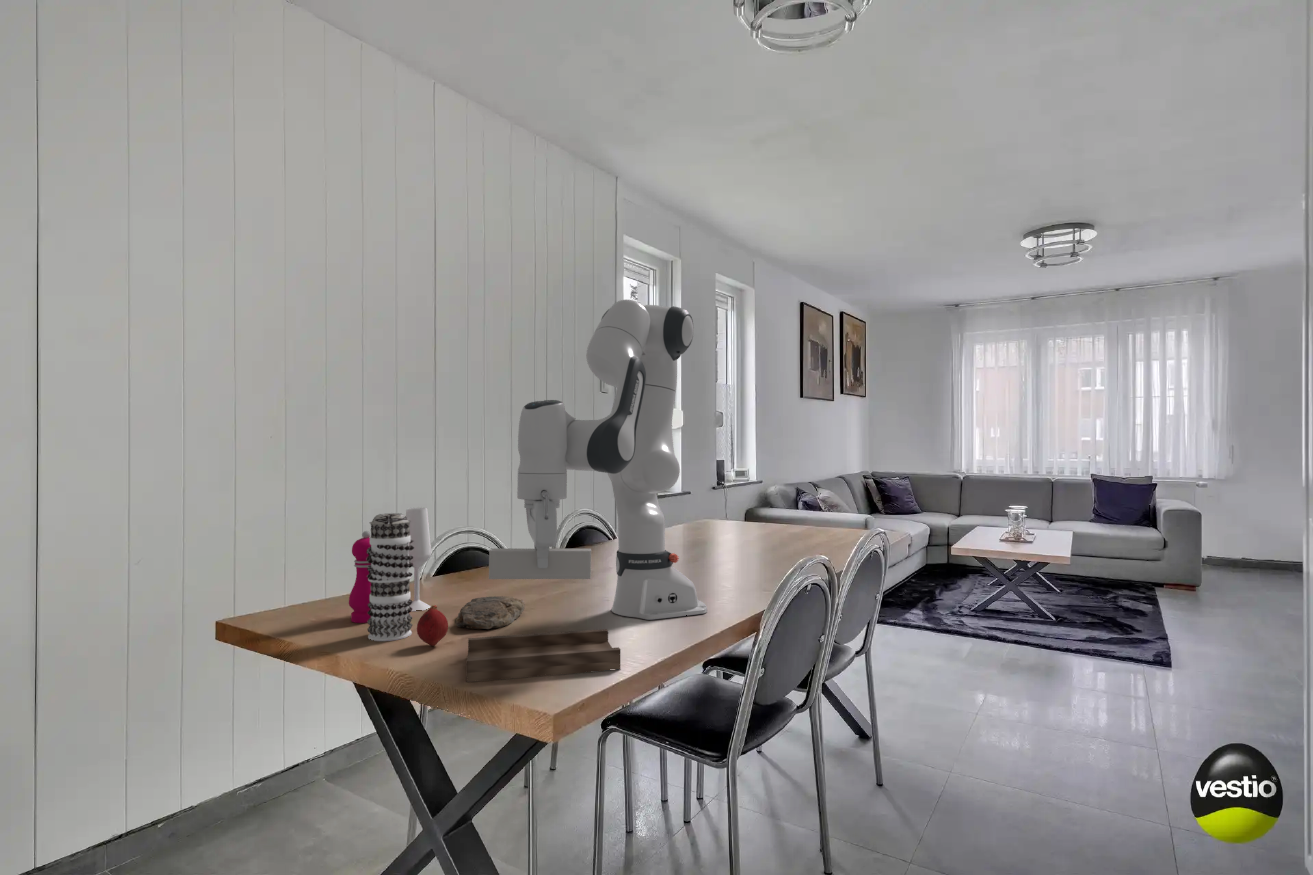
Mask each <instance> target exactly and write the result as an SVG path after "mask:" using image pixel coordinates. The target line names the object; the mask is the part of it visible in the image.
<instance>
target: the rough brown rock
mask: <svg viewBox="0 0 1313 875" xmlns="http://www.w3.org/2000/svg"><path fill="white" fill-rule="evenodd" d="M525 605H526V604H525V601H524V600H523V599H521V598H520V599H518V598H515V597H513V596H503V595H501V596H482V597H477V598H472V599H471V600H470V601H467V603H465V605H463V607H462V608H460V609H459V610H460V611H459V613H458V614H457V617H456V620H455V625H456V626H457V627H459V628H467V629H475V630H476V629H477V630H479V629H480V630H484V629H485V630H491V629H498V628H501V627H505V626H508V625H510V624H512V623H514V621H515V620H517V619H518V618H519V616H520V615H522V613H524V611H525Z"/></svg>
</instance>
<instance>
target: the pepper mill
mask: <svg viewBox="0 0 1313 875" xmlns="http://www.w3.org/2000/svg"><path fill="white" fill-rule="evenodd" d="M361 535H362V536H361V538H359V539H356V541H355V542H354V543H353V544H352V547H351V554H352V556H353V557H354V558H355V560H354V561H353V562H354V565H353V566H354V567H355V568H356V569H355V571H356V574H355V576H356V577H355V581H354V585H353V586H352V589H351V592H350V593H349V597H348V605H349V607H350V608H351V609H352V610H353V611H352V612H351V614H350V621H351V622H352V623H355V624H368V623H367V621H368V620H369V619H370V617H371V616H369V614H368V611H369V610H370V608H369V607H368V604H369V603H370V594H371V588H370V587H371V582H370V581H368V578H367V575H369V571H368V570H367V568H368V566H369V565H371V563H369V562H368V561H367V560H366V558H367V557H368V556H369V555H368V554H367V552H366V551H367V549H368V548H370V547H371V545H370V537H371V531H368V530H364V531H363V532H362V534H361Z"/></svg>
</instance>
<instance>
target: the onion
mask: <svg viewBox="0 0 1313 875" xmlns="http://www.w3.org/2000/svg"><path fill="white" fill-rule="evenodd" d="M430 606H431V607H430V609H427V610H425V612H424V613H423V614H422V615H421V616H420V618H419V620H418V622H417V625H416V632H417V633H416V634H417V636H418V637H419V639H420V640H422V642H424V643H426V644H427V645H428V646H431V647H434V646H436V645H437V644H438V643H439V642H440V641H442V640H443V639H444V638H445V636H446V635H447V633H448V629H449V622H448V619H447V617H446V615H445V614H444V613H443V612H441V611H440V610H438V609H437V607H438V605H436V604H431V605H430Z"/></svg>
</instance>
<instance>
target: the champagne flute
mask: <svg viewBox="0 0 1313 875" xmlns="http://www.w3.org/2000/svg"><path fill="white" fill-rule="evenodd" d="M405 512H406V513H405V516H406V517H407V519H408V520H409V521H411V522H410V535H411V540H413V542H412V543H409V545H412V546H413V547H414V549H413V550H410V551H409V555H411V556H413V559H411V560H410V561H409V562H411V563H412V564H413V566H412V567H411V568H413V570H414V572H413V574H414V575H413V577H414V578H413V581H414V582H413V584H414V585H413V586H414V587H413V589H414V590H413V593H414V594H413V595H414V597H413V598H414V599H413V600H412V603H411V605H409V606H410V607H411V608H412V611H411V612H417V611H416V610H422V611H427V610H429V609H428V608H430V607H431V606H432V605H429V604H427V603H426V602H424V601H422V600H421V599H420V568H421V567H423V566H424V565H425V564H426V563H427V562H428V561H429V559H430V558H431V556H432V545H431V544H432V543H431V534H430V533H431V532H430V524H429V512H428V507H422V506H421V507H407V508H406V510H405ZM426 609H427V610H426Z"/></svg>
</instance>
